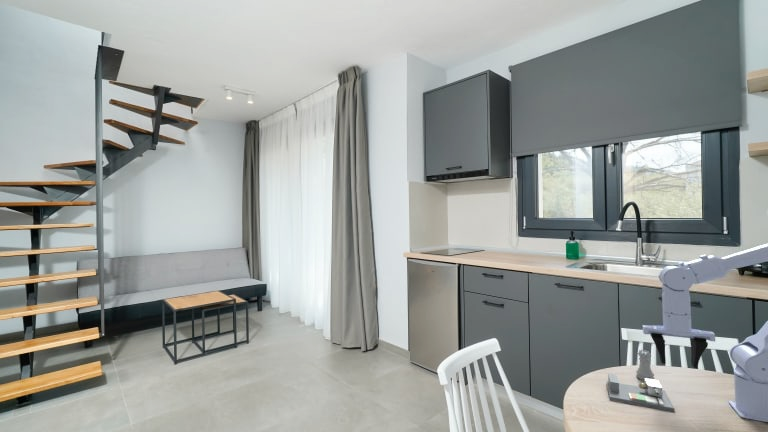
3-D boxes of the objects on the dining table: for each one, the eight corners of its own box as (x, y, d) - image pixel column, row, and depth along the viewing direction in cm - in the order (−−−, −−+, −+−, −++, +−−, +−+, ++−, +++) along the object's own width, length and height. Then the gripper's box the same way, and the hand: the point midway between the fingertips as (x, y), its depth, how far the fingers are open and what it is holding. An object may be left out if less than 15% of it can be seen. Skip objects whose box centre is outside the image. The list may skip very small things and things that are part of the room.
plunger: (658, 389, 96) (658, 380, 96) (665, 402, 89) (665, 393, 89) (638, 386, 98) (637, 376, 98) (643, 399, 91) (643, 389, 91)
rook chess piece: (641, 381, 103) (640, 354, 103) (632, 374, 107) (632, 348, 107) (658, 382, 102) (657, 354, 102) (648, 375, 107) (647, 348, 107)
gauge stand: (665, 393, 95) (664, 381, 95) (674, 411, 87) (674, 398, 87) (606, 383, 102) (606, 372, 102) (609, 399, 93) (609, 387, 93)
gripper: (707, 311, 92) (709, 363, 92) (639, 306, 99) (641, 354, 99) (717, 318, 86) (719, 374, 86) (644, 312, 93) (646, 364, 92)
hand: (678, 364), depth 92 cm, fingers open, 6 cm apart
